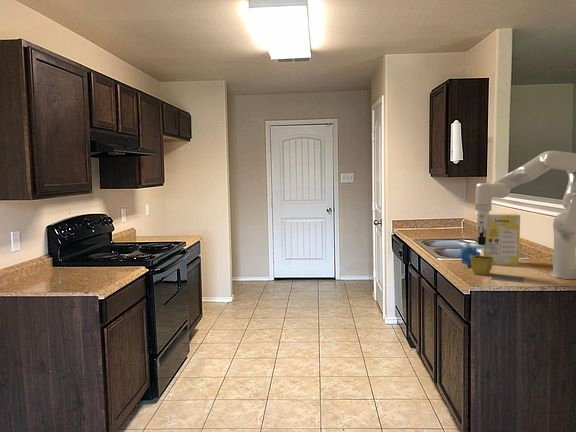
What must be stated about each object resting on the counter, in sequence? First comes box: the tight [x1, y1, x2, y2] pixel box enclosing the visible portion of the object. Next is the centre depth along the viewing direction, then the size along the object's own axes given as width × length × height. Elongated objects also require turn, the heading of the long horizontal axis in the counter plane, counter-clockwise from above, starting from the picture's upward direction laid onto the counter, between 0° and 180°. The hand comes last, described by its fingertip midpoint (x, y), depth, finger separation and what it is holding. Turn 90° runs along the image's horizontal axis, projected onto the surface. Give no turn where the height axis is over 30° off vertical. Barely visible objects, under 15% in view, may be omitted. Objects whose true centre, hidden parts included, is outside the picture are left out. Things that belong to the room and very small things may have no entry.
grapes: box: [458, 244, 481, 268], centre depth 259 cm, size 12×7×12 cm, turn 85°
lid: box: [468, 234, 495, 249], centre depth 241 cm, size 12×12×6 cm
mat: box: [490, 274, 525, 284], centre depth 231 cm, size 14×12×1 cm
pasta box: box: [480, 212, 521, 266], centre depth 270 cm, size 18×10×28 cm, turn 74°
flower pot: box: [470, 255, 493, 276], centre depth 242 cm, size 9×9×9 cm
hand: (481, 243), depth 241 cm, fingers closed on lid, 3 cm apart
